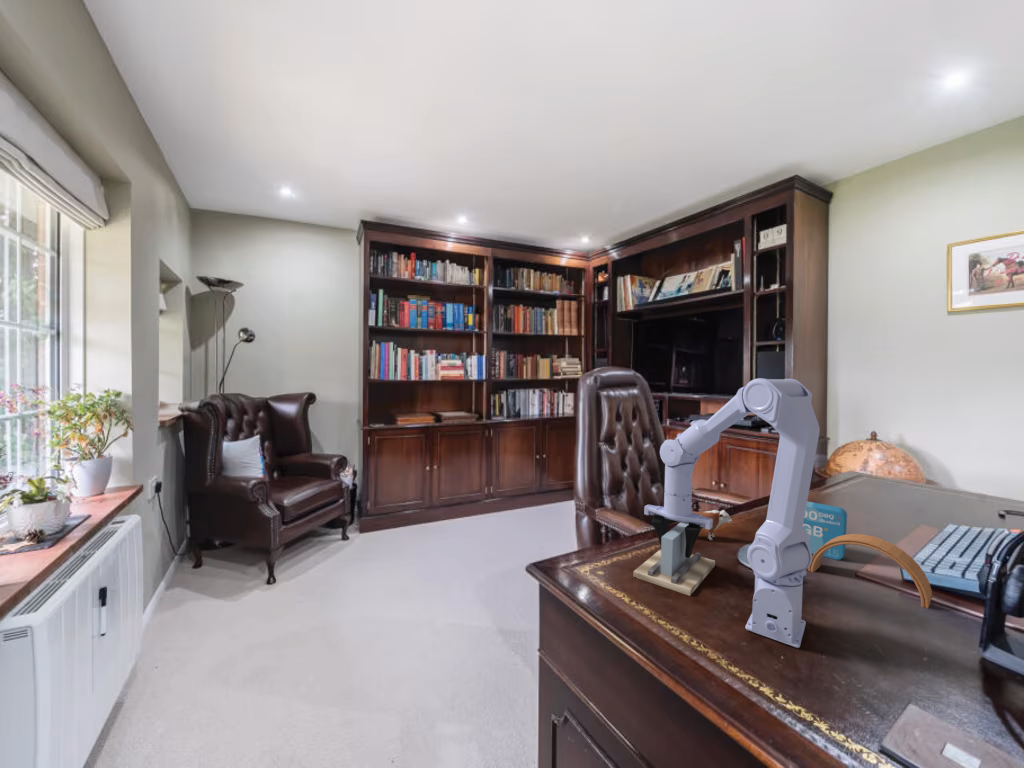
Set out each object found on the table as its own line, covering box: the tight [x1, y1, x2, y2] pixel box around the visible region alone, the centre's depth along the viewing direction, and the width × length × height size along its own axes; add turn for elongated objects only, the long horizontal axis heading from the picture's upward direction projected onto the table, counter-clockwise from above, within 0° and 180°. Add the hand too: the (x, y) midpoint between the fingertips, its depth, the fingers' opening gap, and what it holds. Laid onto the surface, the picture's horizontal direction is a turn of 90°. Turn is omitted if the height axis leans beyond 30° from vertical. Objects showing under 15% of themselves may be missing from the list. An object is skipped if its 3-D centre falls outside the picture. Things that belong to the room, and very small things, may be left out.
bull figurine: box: [681, 509, 733, 541], centre depth 117 cm, size 4×13×8 cm, turn 78°
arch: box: [807, 533, 933, 609], centre depth 93 cm, size 6×20×10 cm, turn 39°
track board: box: [632, 548, 716, 597], centre depth 98 cm, size 18×12×2 cm, turn 140°
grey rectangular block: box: [660, 522, 690, 577], centre depth 98 cm, size 12×2×8 cm, turn 140°
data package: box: [803, 500, 848, 561], centre depth 110 cm, size 12×4×12 cm, turn 48°
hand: (675, 552), depth 97 cm, fingers open, 5 cm apart
